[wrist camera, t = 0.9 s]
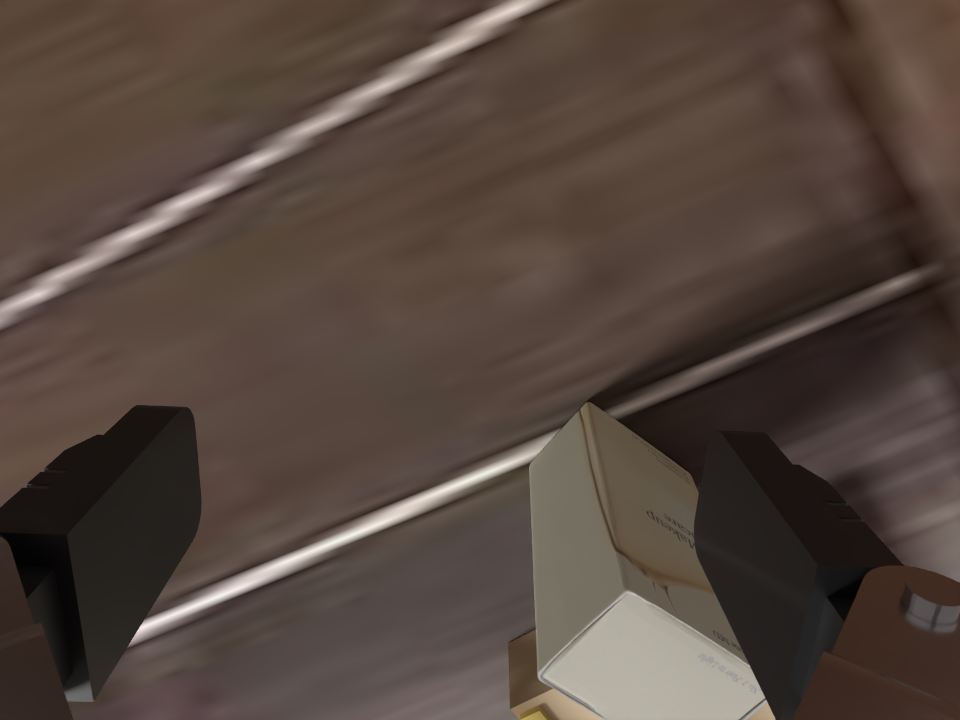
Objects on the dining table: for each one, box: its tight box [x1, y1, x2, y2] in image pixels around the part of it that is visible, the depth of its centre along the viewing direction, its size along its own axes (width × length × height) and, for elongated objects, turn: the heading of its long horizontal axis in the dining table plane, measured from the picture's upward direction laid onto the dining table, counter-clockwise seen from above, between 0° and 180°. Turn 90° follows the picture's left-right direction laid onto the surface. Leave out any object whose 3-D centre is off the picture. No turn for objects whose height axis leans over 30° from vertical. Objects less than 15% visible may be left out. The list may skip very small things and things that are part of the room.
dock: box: [508, 629, 776, 720], centre depth 35 cm, size 14×12×6 cm
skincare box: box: [529, 402, 767, 720], centre depth 28 cm, size 6×4×12 cm
